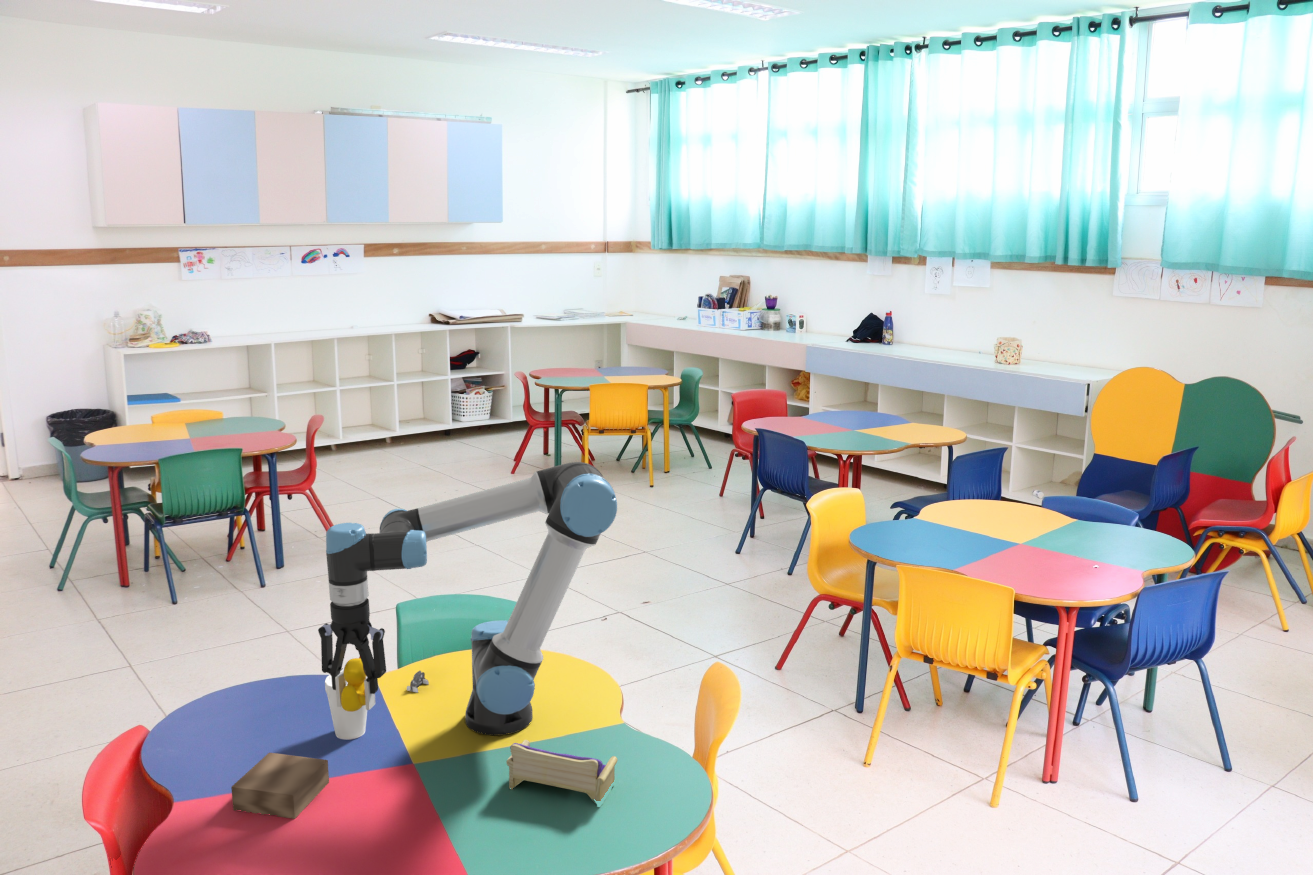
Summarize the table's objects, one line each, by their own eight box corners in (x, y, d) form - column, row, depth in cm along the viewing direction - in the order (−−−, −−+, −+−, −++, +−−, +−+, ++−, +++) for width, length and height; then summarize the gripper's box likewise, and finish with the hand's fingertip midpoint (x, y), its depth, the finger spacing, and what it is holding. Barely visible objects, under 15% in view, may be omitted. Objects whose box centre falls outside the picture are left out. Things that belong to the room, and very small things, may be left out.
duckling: (351, 693, 217) (349, 649, 215) (377, 693, 217) (374, 649, 215) (334, 719, 206) (331, 673, 204) (361, 719, 206) (358, 673, 204)
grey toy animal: (422, 697, 244) (421, 680, 243) (398, 692, 247) (397, 675, 246) (455, 672, 258) (454, 655, 257) (432, 667, 260) (431, 651, 259)
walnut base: (329, 782, 207) (327, 759, 206) (294, 818, 195) (293, 795, 194) (270, 774, 210) (269, 752, 208) (233, 810, 197) (231, 786, 196)
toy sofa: (618, 786, 208) (618, 740, 206) (603, 809, 200) (603, 762, 197) (524, 768, 214) (523, 723, 212) (505, 790, 206) (504, 743, 204)
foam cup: (378, 723, 231) (376, 670, 228) (363, 744, 222) (360, 689, 219) (338, 721, 232) (335, 667, 229) (321, 741, 223) (317, 686, 220)
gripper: (297, 603, 204) (305, 709, 209) (384, 610, 200) (390, 718, 206) (316, 589, 211) (323, 692, 216) (400, 596, 208) (406, 701, 213)
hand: (356, 705), depth 211 cm, fingers closed on duckling, 6 cm apart
